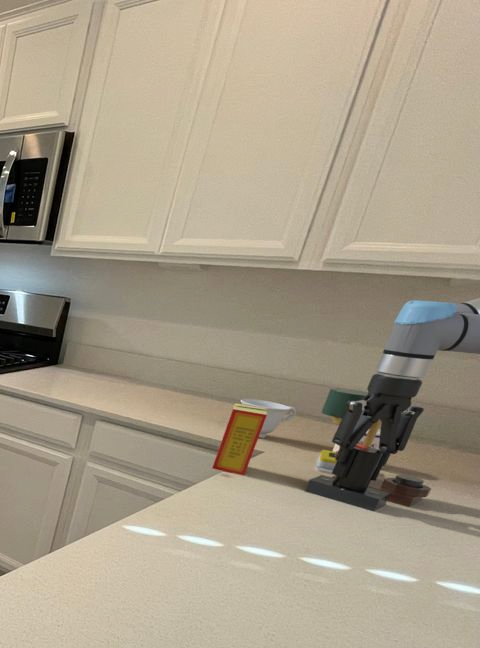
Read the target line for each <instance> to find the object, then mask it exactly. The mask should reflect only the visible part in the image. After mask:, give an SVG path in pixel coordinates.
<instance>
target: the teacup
mask: <svg viewBox="0 0 480 648" xmlns="http://www.w3.org/2000/svg"><path fill="white" fill-rule="evenodd" d="M240 402H241V404H243V405H249V406H255V407H261V408H267V416H266V419H265V421H264V424H263V427H262V429H261V432H260V435H259V437H258V439H259V438H261V439H262V438H263V439H264V438H266V436H267V434H271V433H273V432H275V430H276V429H278V427H279V425H280V423H284V422H289V421H291V420H292V419H293V418H294V417H295V416H296V414H297V409H296V408H295V407H294V406H287V405H285V404H281V403H279V402H272V401H269V400H268V401H267V400H261V399H254V398H242V399H240ZM289 411H290V414H289V415H287V416H286V417H284V416H285V415H286V414H287V413H288V412H289Z"/></svg>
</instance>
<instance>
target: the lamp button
mask: <svg viewBox="0 0 480 648" xmlns="http://www.w3.org/2000/svg"><path fill="white" fill-rule="evenodd" d="M394 478H395V480H394V482H395V483H398V484H401V485H405V486H409V487H415V488H421V487H422V485H424V483H425V481H424V479H422V478H418V477H415V476H411V475H407V474H396V476H395V477H394Z"/></svg>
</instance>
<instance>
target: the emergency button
mask: <svg viewBox="0 0 480 648" xmlns="http://www.w3.org/2000/svg"><path fill="white" fill-rule="evenodd" d="M337 453H338V451H336V452H333V450H327V449H322V450H321V451H320V453H319V456H318V457H317V458H316V463H315V468H314V471H315V472H319V473H323V474H327V475H332V476H335V475H334V474H332V472H333V469H334V467H335V465H336V462H337V461H336V460H335V458H336V456H337Z"/></svg>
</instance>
